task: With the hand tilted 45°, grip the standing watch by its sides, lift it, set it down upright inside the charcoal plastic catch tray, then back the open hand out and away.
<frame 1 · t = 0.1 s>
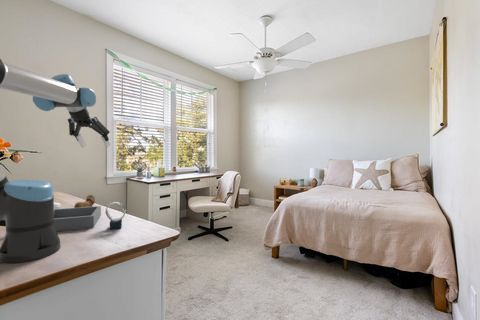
hand: (96, 146, 125), 36 cm above the dresser top, tool tilted 35°, fingers open, 13 cm apart
catch tray: (72, 223, 108), on the dresser top
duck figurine: (46, 214, 123), on the dresser top
lion figurine: (84, 213, 126), on the dresser top
watch: (116, 227, 104), on the dresser top
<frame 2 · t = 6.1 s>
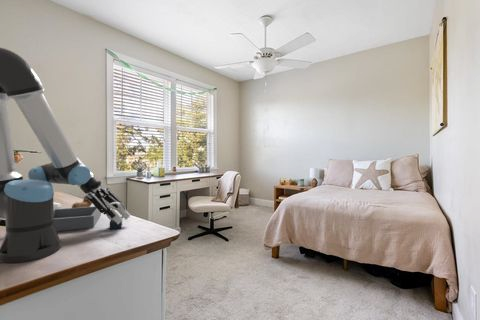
hand: (124, 219, 103), 3 cm above the dresser top, tool tilted 45°, fingers closed on watch, 6 cm apart
lion figurine: (81, 214, 125), on the dresser top
watch: (116, 227, 104), on the dresser top, touching gripper
everything else where it was.
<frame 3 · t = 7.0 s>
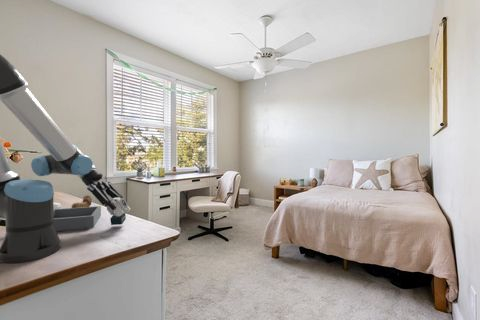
hand: (124, 212, 104), 6 cm above the dresser top, tool tilted 45°, fingers closed on watch, 5 cm apart
watch: (118, 222, 105), point 2 cm above the dresser top, touching gripper
everything else where it was.
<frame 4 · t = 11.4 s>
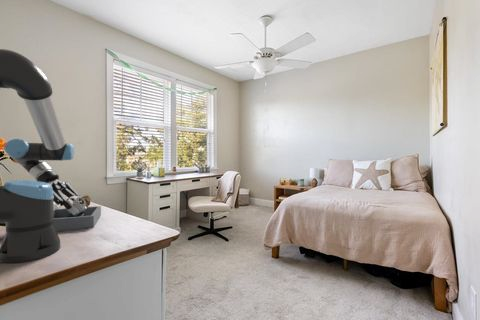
hand: (80, 211, 108), 5 cm above the dresser top, tool tilted 45°, fingers closed on watch, 4 cm apart
watch: (76, 219, 110), point 1 cm above the dresser top, touching catch tray, gripper
when the fingers open (5 cm above the dresser top, at t = 11.5 s): watch stays where it is, resting on catch tray.
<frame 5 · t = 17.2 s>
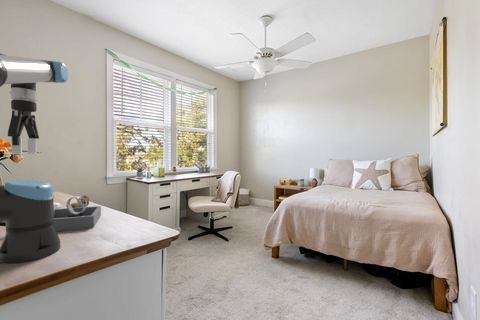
hand: (25, 154, 95), 32 cm above the dresser top, tool pointing down, fingers open, 13 cm apart
watch: (77, 220, 110), point 1 cm above the dresser top, touching catch tray
at the end: watch inside the target area on the catch tray (1.8 cm from its centre), point 0.8 cm above the catch tray's base; watch tilted 0°; the gripper is holding nothing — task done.
